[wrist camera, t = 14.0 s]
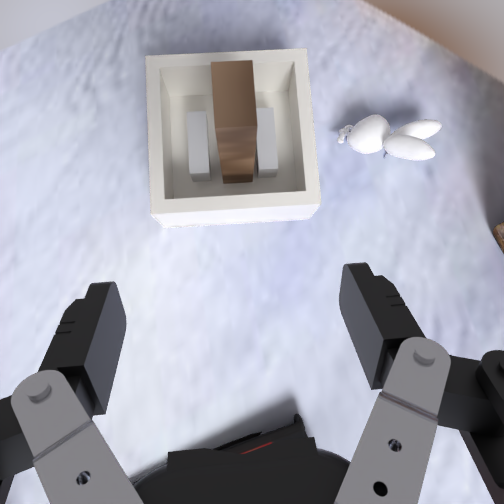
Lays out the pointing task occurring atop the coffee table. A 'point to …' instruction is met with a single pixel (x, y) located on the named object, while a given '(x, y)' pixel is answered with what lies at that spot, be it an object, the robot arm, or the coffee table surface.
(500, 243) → the book
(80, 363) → the robot arm
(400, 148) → the rabbit figurine
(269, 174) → the white square tray
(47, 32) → the coffee table surface
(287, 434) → the binder
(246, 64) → the brown rectangular block
